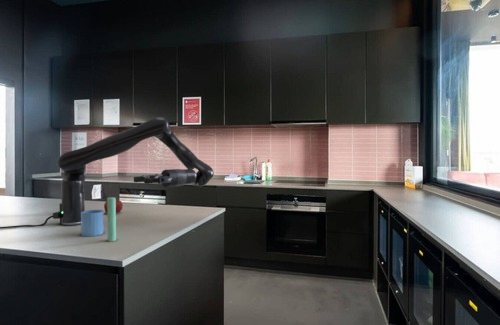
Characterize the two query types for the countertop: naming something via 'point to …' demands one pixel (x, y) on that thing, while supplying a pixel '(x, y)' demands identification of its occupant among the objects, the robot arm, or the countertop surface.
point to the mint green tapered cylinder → (111, 218)
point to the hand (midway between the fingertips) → (139, 180)
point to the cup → (92, 223)
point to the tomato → (118, 206)
